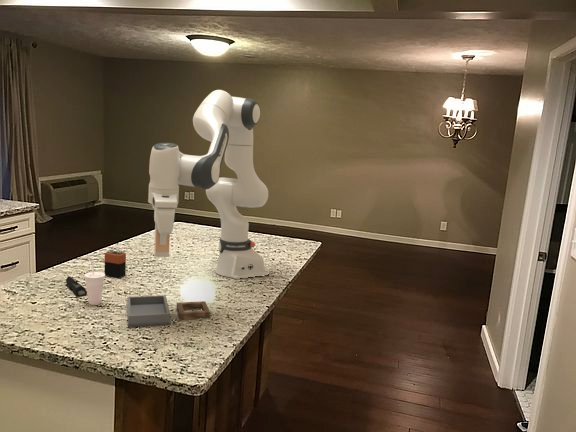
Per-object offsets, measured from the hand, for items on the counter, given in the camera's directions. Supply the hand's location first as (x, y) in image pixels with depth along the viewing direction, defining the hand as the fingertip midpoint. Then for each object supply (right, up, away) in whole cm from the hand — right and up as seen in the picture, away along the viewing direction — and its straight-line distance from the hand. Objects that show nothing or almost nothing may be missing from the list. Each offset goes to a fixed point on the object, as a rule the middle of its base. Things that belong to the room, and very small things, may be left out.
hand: (161, 242), depth 148 cm
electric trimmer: (-36, -18, +21) cm, 45 cm away
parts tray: (-5, -23, +4) cm, 24 cm away
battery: (-28, -15, +38) cm, 50 cm away
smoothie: (-25, -21, +10) cm, 34 cm away
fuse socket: (+8, -23, +8) cm, 26 cm away
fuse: (0, -4, +1) cm, 4 cm away
